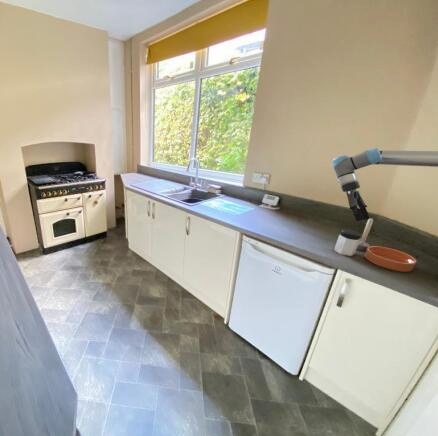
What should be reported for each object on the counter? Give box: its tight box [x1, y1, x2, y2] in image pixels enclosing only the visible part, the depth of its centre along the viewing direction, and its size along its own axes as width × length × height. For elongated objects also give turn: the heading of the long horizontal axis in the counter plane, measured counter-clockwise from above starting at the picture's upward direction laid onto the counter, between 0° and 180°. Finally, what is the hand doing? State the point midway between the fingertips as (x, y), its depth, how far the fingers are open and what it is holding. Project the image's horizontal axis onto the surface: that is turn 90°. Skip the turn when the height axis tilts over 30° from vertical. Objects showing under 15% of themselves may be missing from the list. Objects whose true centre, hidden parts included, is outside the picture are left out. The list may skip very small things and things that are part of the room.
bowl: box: [364, 245, 418, 273], centre depth 117 cm, size 17×17×5 cm
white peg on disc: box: [356, 218, 374, 252], centre depth 129 cm, size 6×6×18 cm
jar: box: [333, 228, 362, 257], centre depth 125 cm, size 9×8×12 cm
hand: (363, 220), depth 126 cm, fingers open, 13 cm apart
